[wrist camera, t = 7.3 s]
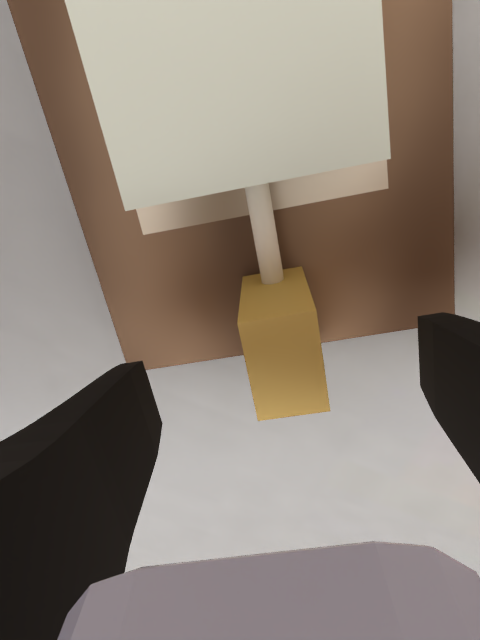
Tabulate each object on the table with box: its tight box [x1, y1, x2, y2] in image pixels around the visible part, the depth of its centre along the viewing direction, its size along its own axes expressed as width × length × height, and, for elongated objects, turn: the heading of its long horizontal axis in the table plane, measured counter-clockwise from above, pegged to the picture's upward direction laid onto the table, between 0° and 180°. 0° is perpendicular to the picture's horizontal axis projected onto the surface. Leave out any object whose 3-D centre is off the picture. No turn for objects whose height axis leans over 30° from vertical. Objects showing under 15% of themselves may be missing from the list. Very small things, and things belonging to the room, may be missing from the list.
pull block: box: [65, 0, 391, 421], centre depth 12 cm, size 6×11×4 cm, turn 11°
